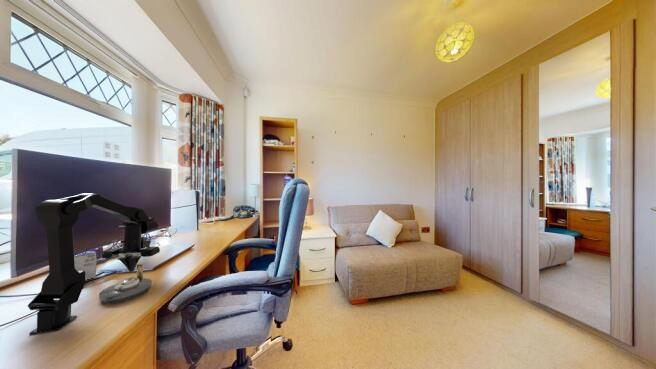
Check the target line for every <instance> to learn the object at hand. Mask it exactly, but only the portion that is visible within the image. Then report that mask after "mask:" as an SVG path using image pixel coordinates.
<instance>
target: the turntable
mask: <svg viewBox="0 0 656 369" xmlns="http://www.w3.org/2000/svg"><path fill="white" fill-rule="evenodd" d="M136 278H138V279H139V285H138V286H137V287H135V288H133V289H130V290H127V291H122V292H116V291H115V284H113V285H110V286H108V287H107V288H104V289H102V290H101V291H100V292H99V293H98V300H99V301H100V302H112V301H118V300H123V299H127V298H130V297H133V296H136V295H139V294H141V293H143V292H145V291H147V290H148V289H149V290H150V289H151V288H152V285H153V280H152V279H151V278H146V277H145V278H144V263H139V264H138V263H137V265H136ZM149 290H148V291H149ZM148 291H147V292H148Z"/></svg>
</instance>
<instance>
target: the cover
mask: <svg viewBox="0 0 656 369" xmlns="http://www.w3.org/2000/svg"><path fill="white" fill-rule="evenodd" d="M114 285H115V291H116V292H122V291H127V290H130V289H133V288H135V287H137V286H138V285H139V279H138V278H137V277H128V278H124V279H121V280H120V281H117V283H115V284H114Z"/></svg>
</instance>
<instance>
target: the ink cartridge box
mask: <svg viewBox="0 0 656 369" xmlns="http://www.w3.org/2000/svg"><path fill="white" fill-rule="evenodd" d="M74 262H75V269H76V270H77V271H85V273H86V274H85V280H86V279H89V278H93V277H96V278H97V252H96V251H95V250H92V251H86V252H85V253H82V254H79V255H77V256H74ZM86 281H87V280H86Z"/></svg>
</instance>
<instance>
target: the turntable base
mask: <svg viewBox="0 0 656 369" xmlns="http://www.w3.org/2000/svg"><path fill="white" fill-rule="evenodd" d="M149 290H150V288H149V289H148V290H147V291H145V292H143V293H141V294H139V295H136V296H133V297H130V298H127V299H123V300H118V301H112V302H103V301H102V302H103V303H104V304H107V305H114V304H120V303H124V302H128V301H132V300H135V299H136V298H139V297H141V296H143V295H145V294H146V293H148V291H149Z"/></svg>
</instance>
